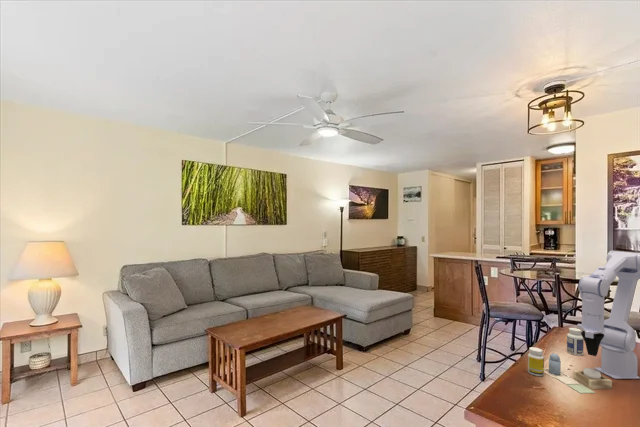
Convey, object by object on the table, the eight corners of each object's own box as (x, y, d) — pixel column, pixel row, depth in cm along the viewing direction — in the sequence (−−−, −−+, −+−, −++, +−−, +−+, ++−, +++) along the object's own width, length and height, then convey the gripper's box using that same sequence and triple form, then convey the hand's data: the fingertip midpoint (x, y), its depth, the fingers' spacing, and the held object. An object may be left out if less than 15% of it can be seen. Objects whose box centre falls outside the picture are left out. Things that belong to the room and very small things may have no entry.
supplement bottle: (546, 377, 114) (546, 352, 115) (531, 375, 115) (531, 351, 116) (540, 371, 119) (540, 347, 119) (525, 369, 120) (525, 346, 120)
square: (568, 377, 115) (568, 376, 115) (580, 384, 110) (580, 383, 110) (554, 377, 115) (554, 376, 115) (566, 384, 110) (566, 383, 110)
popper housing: (592, 378, 114) (592, 370, 115) (611, 388, 108) (611, 380, 108) (573, 378, 114) (573, 370, 114) (591, 388, 107) (591, 380, 107)
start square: (556, 368, 121) (556, 368, 121) (570, 377, 115) (570, 376, 115) (539, 369, 121) (539, 368, 121) (552, 377, 114) (552, 376, 114)
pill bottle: (582, 352, 137) (582, 328, 137) (584, 357, 133) (584, 332, 133) (566, 349, 140) (566, 326, 140) (567, 353, 135) (567, 329, 136)
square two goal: (581, 385, 109) (581, 384, 109) (595, 393, 104) (595, 392, 104) (567, 385, 109) (567, 384, 109) (580, 393, 104) (580, 392, 104)
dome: (592, 376, 113) (592, 368, 113) (604, 382, 109) (604, 374, 109) (580, 376, 113) (580, 368, 113) (591, 382, 108) (591, 374, 108)
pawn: (555, 370, 120) (555, 351, 120) (562, 375, 116) (563, 355, 116) (546, 371, 119) (546, 351, 119) (553, 375, 116) (553, 355, 116)
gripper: (581, 307, 119) (581, 345, 119) (573, 315, 109) (573, 357, 109) (607, 311, 114) (607, 352, 114) (601, 320, 104) (601, 364, 104)
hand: (592, 354), depth 111 cm, fingers closed
